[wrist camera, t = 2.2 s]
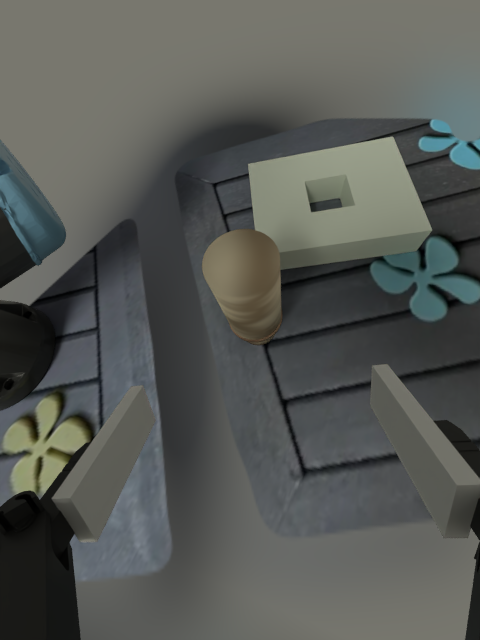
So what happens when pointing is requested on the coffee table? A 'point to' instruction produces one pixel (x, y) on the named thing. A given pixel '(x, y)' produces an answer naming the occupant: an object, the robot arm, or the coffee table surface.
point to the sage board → (356, 197)
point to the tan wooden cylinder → (246, 283)
